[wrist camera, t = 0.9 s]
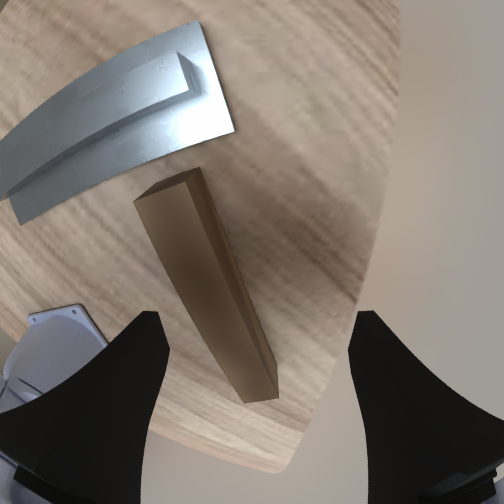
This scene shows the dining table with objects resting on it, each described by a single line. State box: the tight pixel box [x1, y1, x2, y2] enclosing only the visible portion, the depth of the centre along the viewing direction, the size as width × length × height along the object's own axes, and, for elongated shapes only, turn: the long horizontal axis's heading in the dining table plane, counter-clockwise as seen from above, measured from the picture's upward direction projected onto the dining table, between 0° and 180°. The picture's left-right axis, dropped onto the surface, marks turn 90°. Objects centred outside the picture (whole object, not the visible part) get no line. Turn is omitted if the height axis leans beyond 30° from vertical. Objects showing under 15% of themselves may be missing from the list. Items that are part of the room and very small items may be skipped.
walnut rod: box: [133, 167, 279, 403], centre depth 19 cm, size 3×18×4 cm, turn 17°
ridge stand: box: [0, 20, 236, 226], centre depth 13 cm, size 18×7×5 cm, turn 106°
